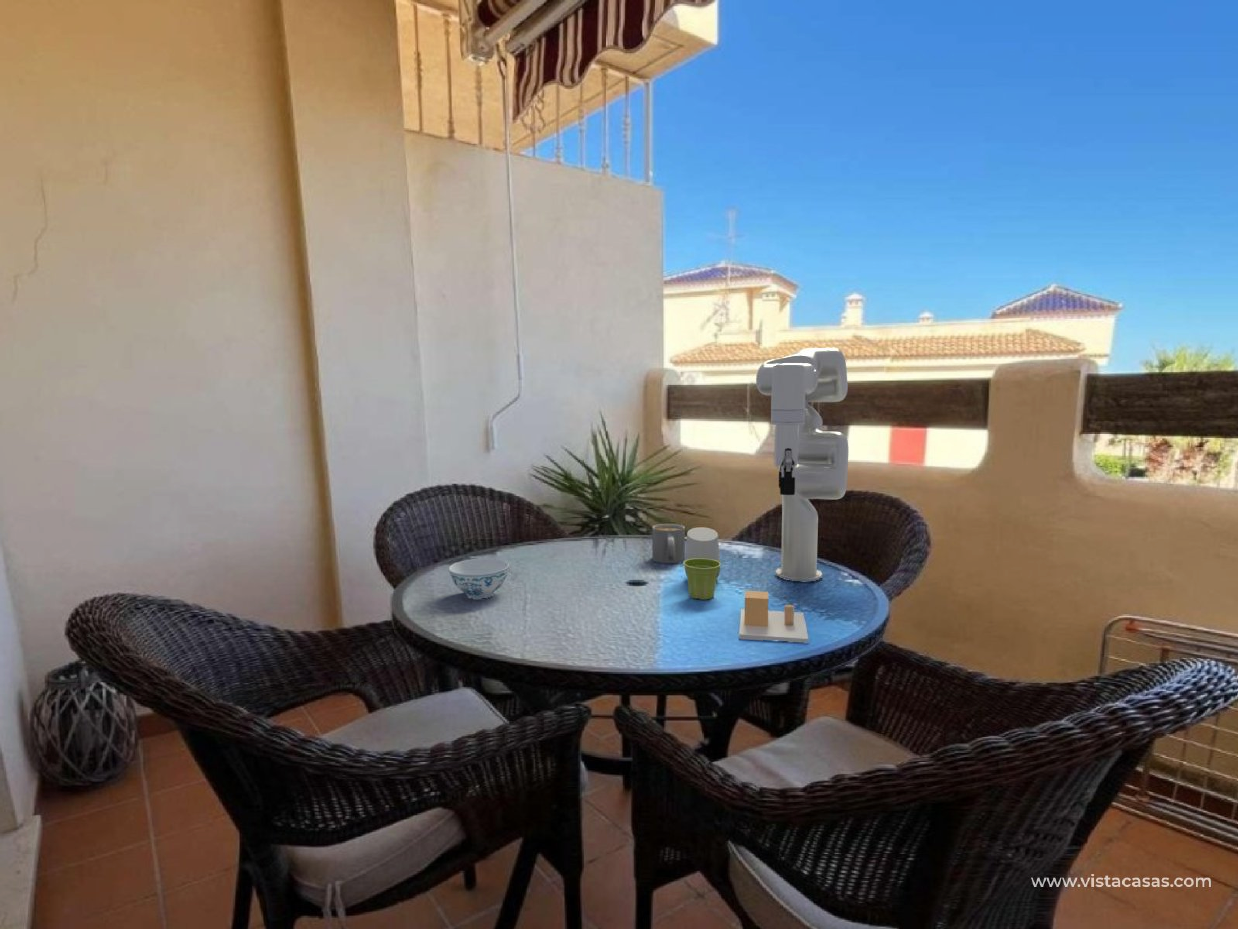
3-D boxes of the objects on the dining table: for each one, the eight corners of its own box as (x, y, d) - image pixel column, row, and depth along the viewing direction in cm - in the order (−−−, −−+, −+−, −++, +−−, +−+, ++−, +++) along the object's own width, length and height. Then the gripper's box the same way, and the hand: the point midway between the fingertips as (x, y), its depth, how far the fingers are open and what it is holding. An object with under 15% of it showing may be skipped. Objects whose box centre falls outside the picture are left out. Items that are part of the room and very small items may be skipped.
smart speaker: (687, 585, 175) (687, 534, 173) (682, 575, 184) (683, 526, 182) (722, 584, 175) (723, 533, 173) (716, 575, 184) (716, 526, 183)
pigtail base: (741, 613, 153) (741, 592, 152) (803, 616, 150) (803, 595, 149) (739, 638, 137) (739, 615, 137) (808, 643, 134) (808, 620, 134)
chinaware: (478, 583, 179) (477, 556, 178) (521, 591, 171) (520, 563, 170) (437, 599, 166) (436, 569, 165) (482, 608, 158) (480, 577, 157)
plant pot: (709, 588, 172) (709, 556, 171) (727, 599, 163) (727, 565, 162) (676, 593, 168) (676, 560, 167) (694, 604, 160) (694, 569, 159)
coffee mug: (654, 554, 208) (654, 523, 207) (685, 555, 206) (685, 524, 205) (649, 565, 195) (648, 532, 194) (682, 566, 193) (682, 533, 192)
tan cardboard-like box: (744, 617, 147) (745, 590, 147) (767, 618, 146) (768, 591, 146) (744, 625, 142) (744, 597, 142) (768, 626, 141) (768, 598, 141)
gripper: (770, 416, 160) (769, 485, 162) (771, 419, 143) (770, 497, 145) (802, 415, 158) (800, 486, 160) (807, 419, 141) (805, 497, 143)
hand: (786, 491), depth 152 cm, fingers open, 9 cm apart
